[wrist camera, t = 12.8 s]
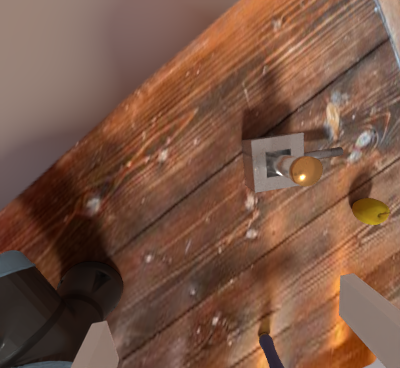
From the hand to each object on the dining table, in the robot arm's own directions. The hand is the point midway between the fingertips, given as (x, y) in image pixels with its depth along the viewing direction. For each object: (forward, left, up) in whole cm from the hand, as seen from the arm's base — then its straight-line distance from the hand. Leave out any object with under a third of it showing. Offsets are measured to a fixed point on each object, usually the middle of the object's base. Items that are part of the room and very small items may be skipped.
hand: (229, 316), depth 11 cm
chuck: (+23, +2, -37) cm, 43 cm away
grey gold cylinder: (+18, +2, -34) cm, 39 cm away
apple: (+42, -14, -37) cm, 58 cm away
